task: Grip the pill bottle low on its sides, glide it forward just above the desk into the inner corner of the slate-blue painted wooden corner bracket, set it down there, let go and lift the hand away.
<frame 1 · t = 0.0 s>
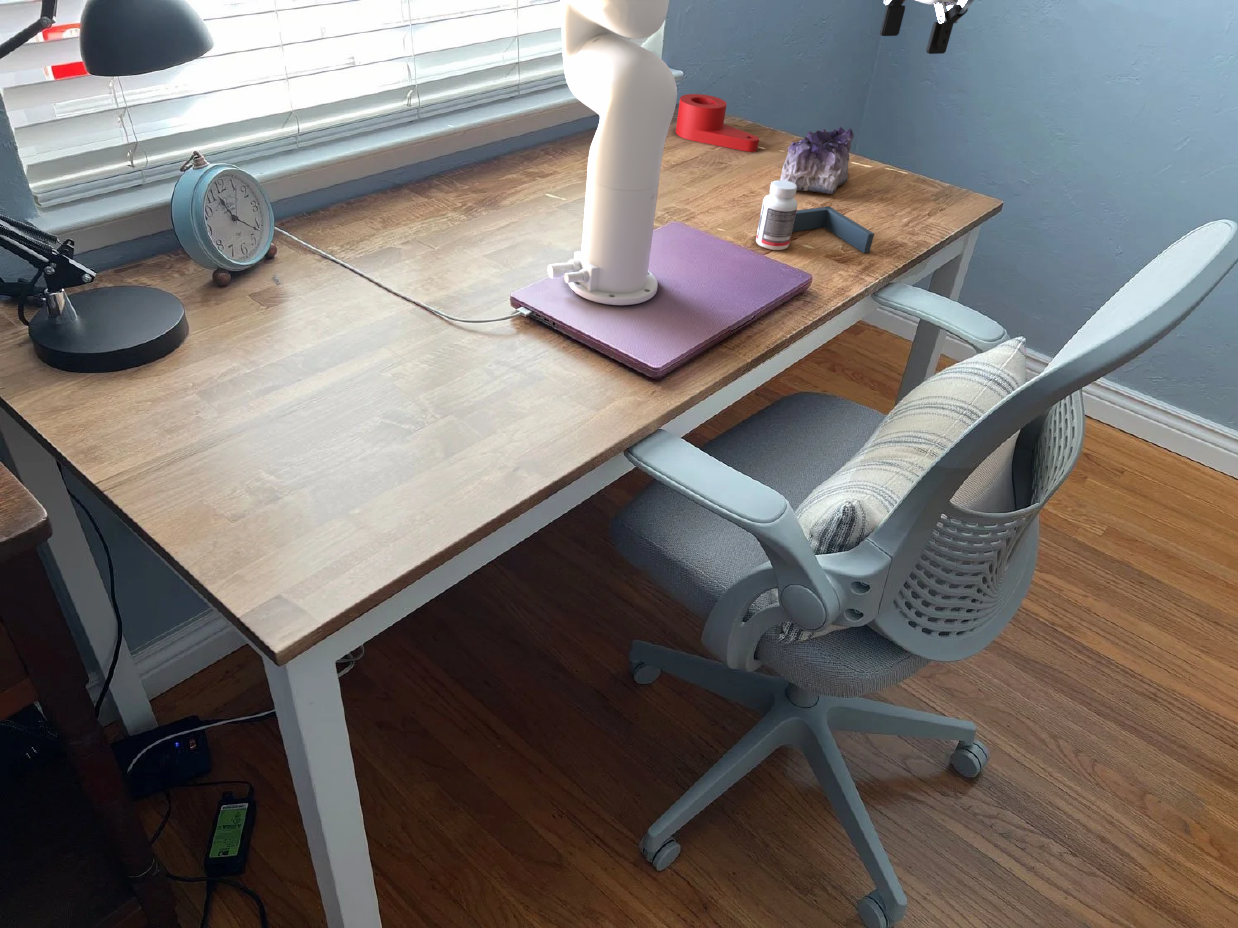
hand: (911, 44, 135), 31 cm above the table, tool pointing down, fingers open, 9 cm apart
geode: (815, 182, 178), on the table
lever: (716, 140, 193), on the table
pill bottle: (771, 245, 152), on the table
corner: (818, 243, 154), on the table
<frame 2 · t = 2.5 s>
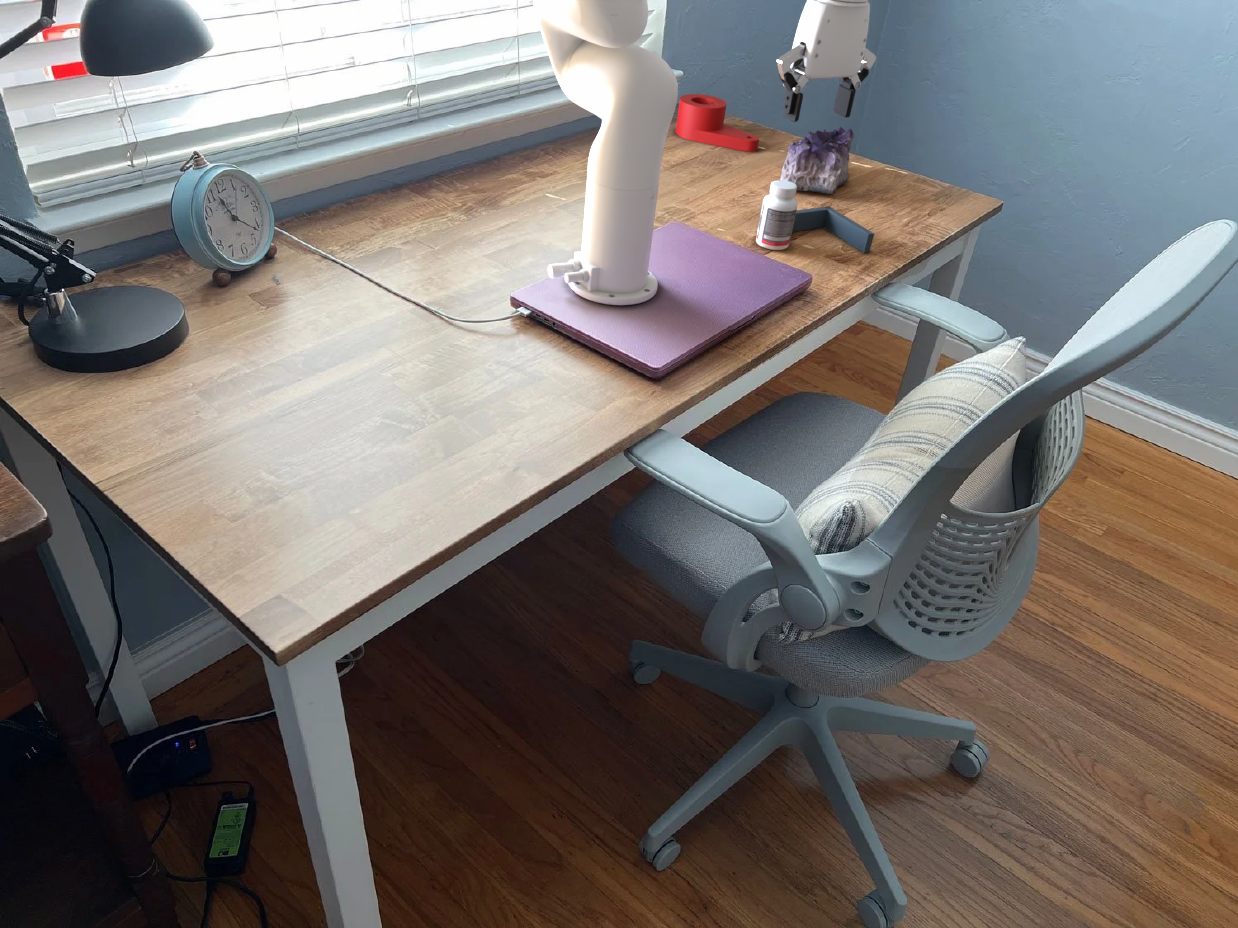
hand: (815, 117, 140), 20 cm above the table, tool pointing down, fingers open, 9 cm apart
nothing on the table moved.
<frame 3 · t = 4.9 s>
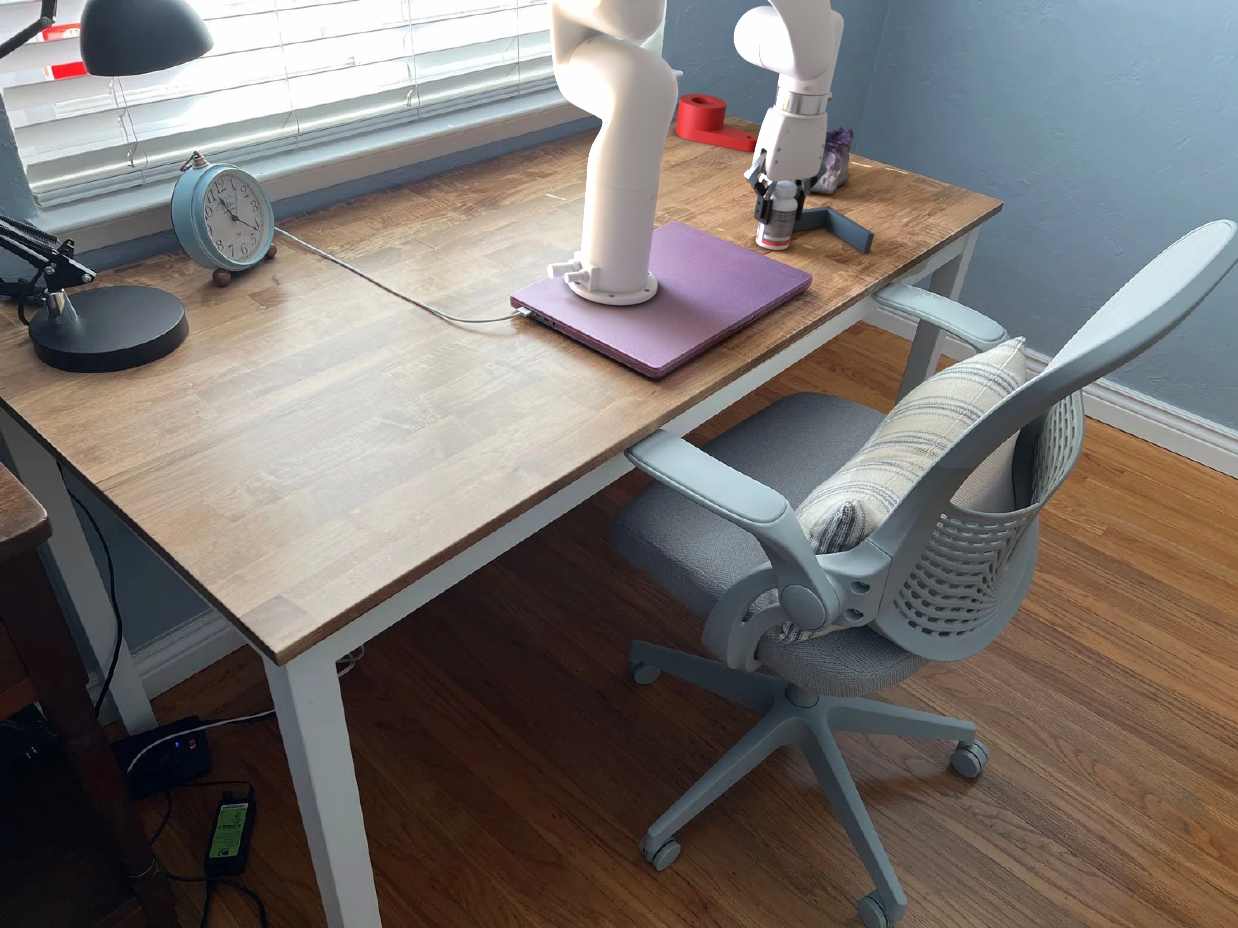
hand: (777, 218, 149), 4 cm above the table, tool pointing down, fingers closed on pill bottle, 5 cm apart
pill bottle: (771, 245, 152), on the table, touching gripper
everything else where it was.
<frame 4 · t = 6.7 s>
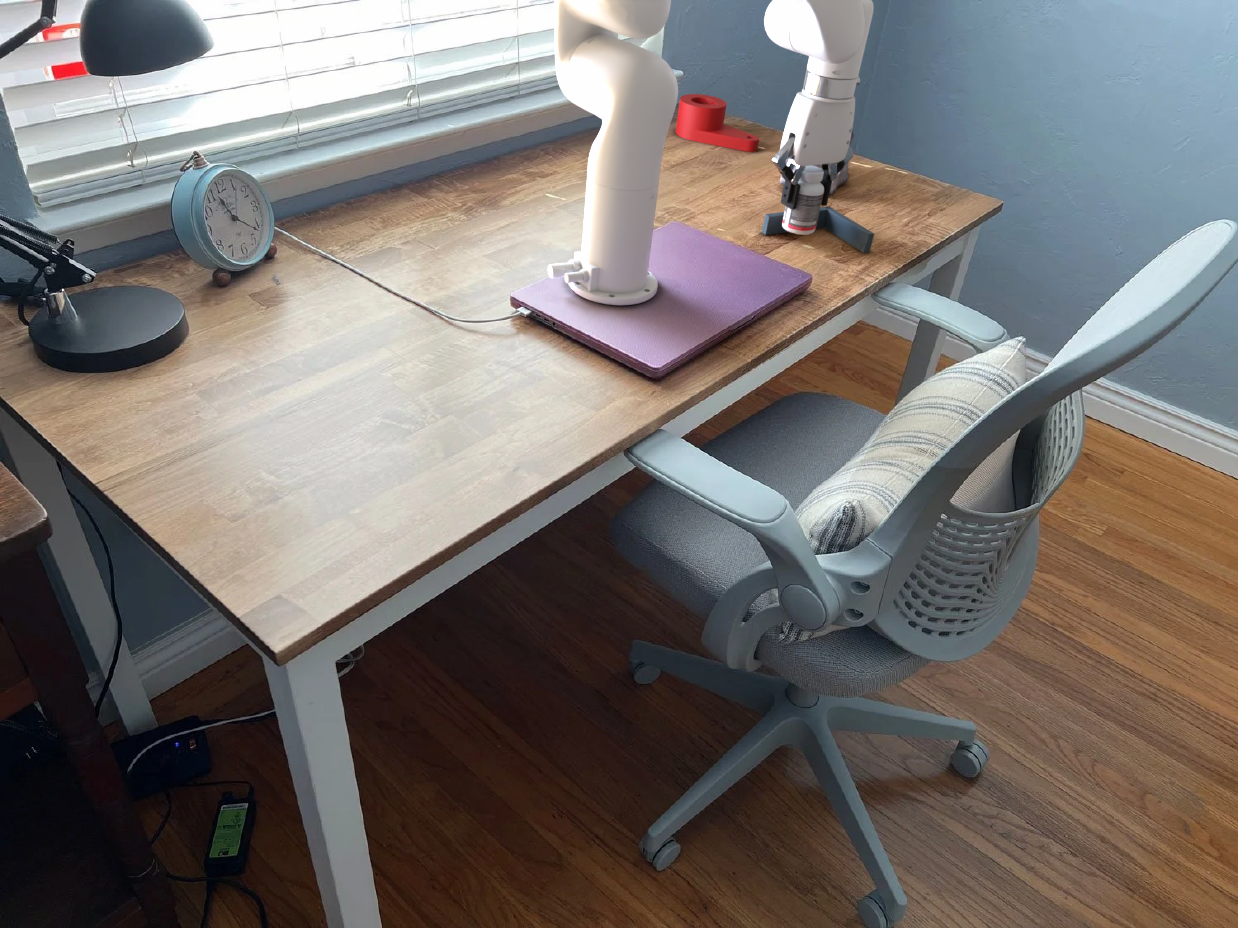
hand: (803, 203, 150), 6 cm above the table, tool pointing down, fingers closed on pill bottle, 5 cm apart
pill bottle: (797, 230, 153), point 2 cm above the table, touching gripper
everything else where it was.
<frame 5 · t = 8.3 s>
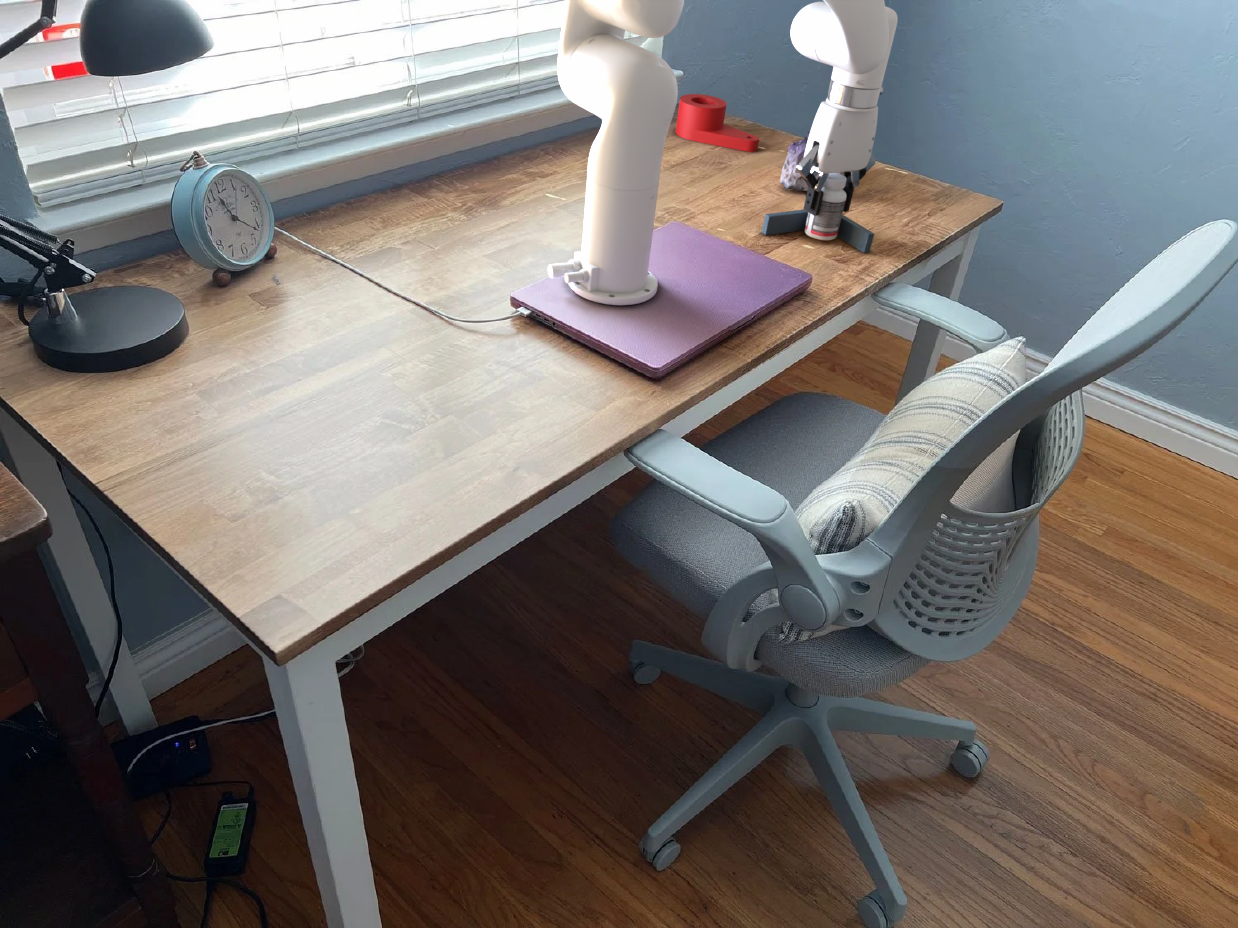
hand: (826, 209, 153), 5 cm above the table, tool pointing down, fingers closed on pill bottle, 5 cm apart
pill bottle: (819, 235, 156), on the table, touching gripper
everything else where it was.
when the fingers open (4 cm above the table, at t = 8.9 s): pill bottle stays where it is, on the table.
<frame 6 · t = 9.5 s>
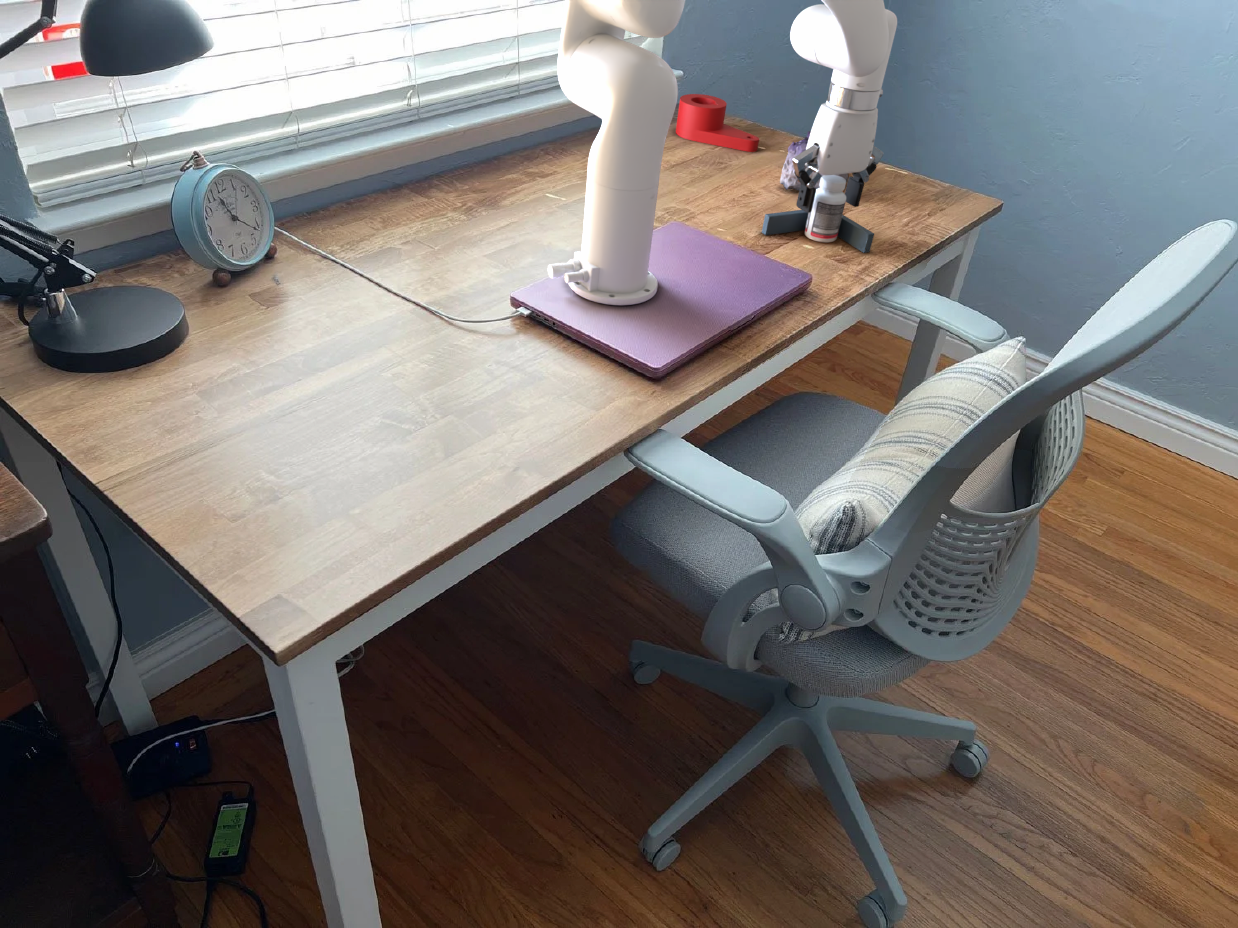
hand: (827, 206, 153), 5 cm above the table, tool pointing down, fingers open, 9 cm apart
pill bottle: (819, 238, 156), on the table
everything else where it was.
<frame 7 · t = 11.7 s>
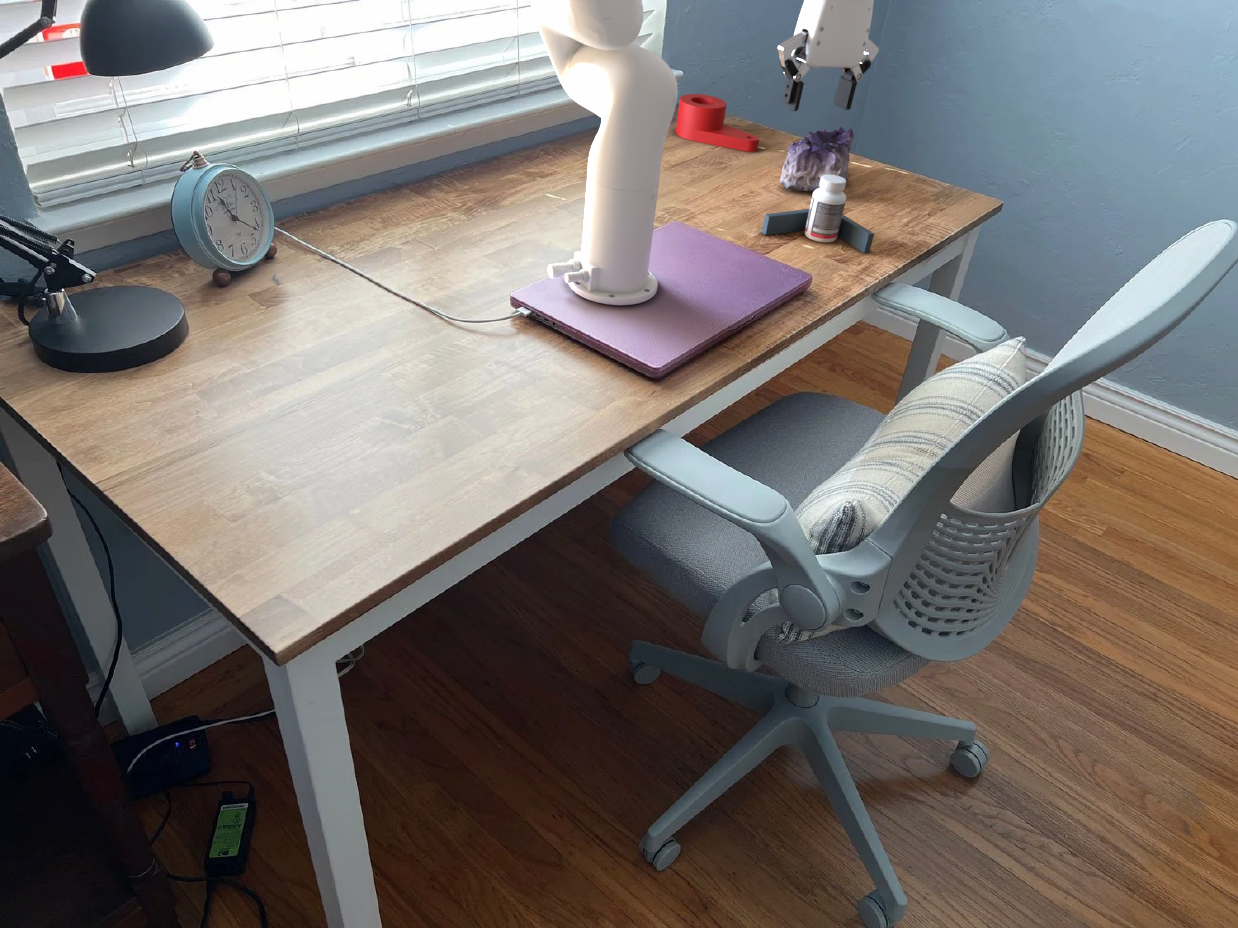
hand: (815, 108, 137), 22 cm above the table, tool pointing down, fingers open, 9 cm apart
nothing on the table moved.
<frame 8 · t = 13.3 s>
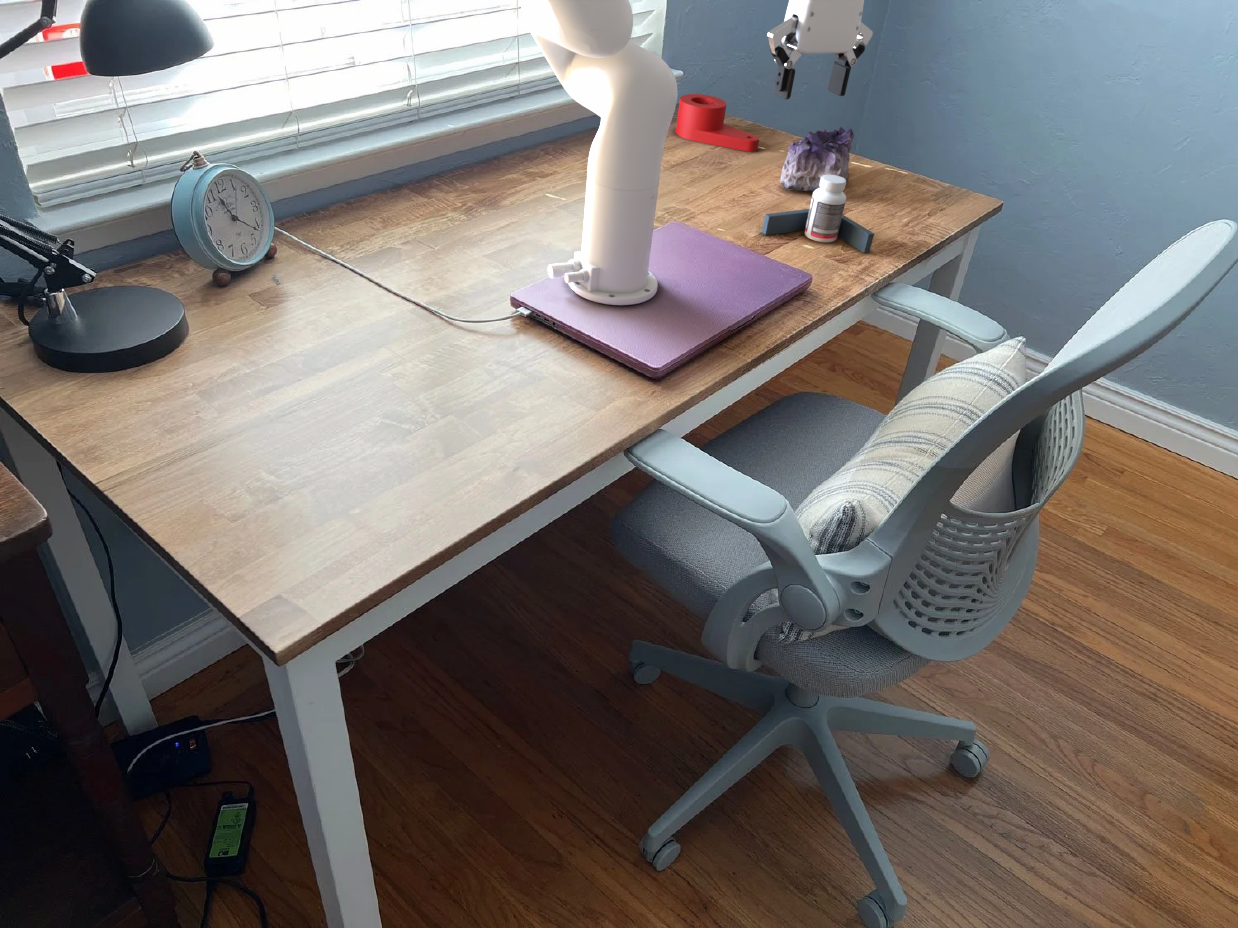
hand: (808, 95, 134), 24 cm above the table, tool pointing down, fingers open, 9 cm apart
nothing on the table moved.
at the end: pill bottle 0.4 cm from the target spot on the corner, point 0.0 cm above the corner's base; pill bottle tilted 0°; the gripper is holding nothing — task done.
